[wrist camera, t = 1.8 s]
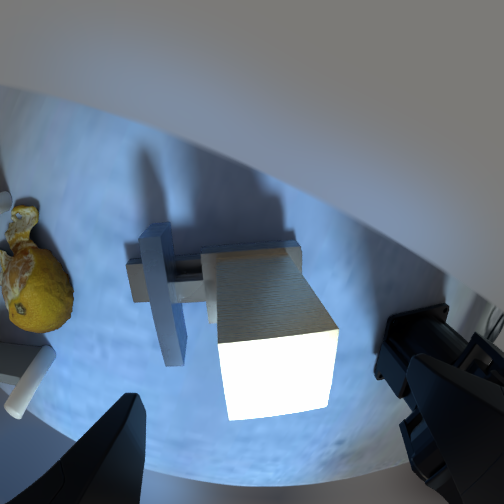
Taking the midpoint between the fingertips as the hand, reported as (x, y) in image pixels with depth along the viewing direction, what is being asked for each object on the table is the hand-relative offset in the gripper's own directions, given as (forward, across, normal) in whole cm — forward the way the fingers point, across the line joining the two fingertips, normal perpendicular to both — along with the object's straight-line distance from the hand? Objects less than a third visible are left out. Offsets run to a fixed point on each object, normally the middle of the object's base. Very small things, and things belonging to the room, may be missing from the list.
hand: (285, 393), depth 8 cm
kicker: (+9, +1, 0) cm, 9 cm away
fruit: (+10, +15, -2) cm, 19 cm away
